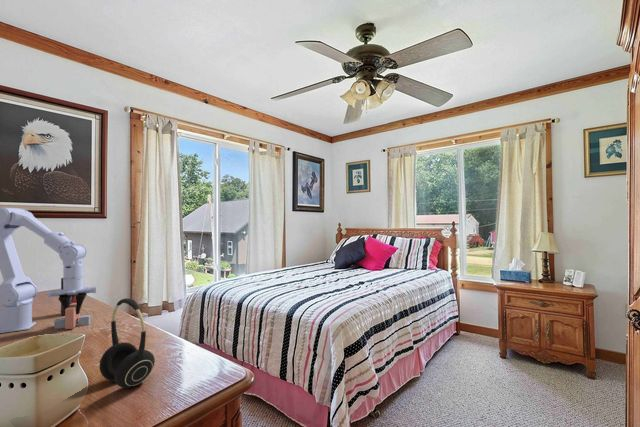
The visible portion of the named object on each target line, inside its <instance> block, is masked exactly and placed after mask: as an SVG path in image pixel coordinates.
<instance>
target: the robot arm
mask: <svg viewBox="0 0 640 427" xmlns="http://www.w3.org/2000/svg"><path fill="white" fill-rule="evenodd" d="M21 227H24V228H25V229H28V230H30V231H31V232H32V233H35V234H36V235H38V236H39V237H40V238H42V239H43V242H44V244H45V246H47V247H49V248H50V249H52V250H53V251H54V252H56V253H57V254H58V256H59V259H60V260H61V261H62V265H63V271H62V272H63V274H62V275H63V277H62V278H63V289H62V290H61V289H55V290H49V291H47V292H46V294H47V295H46V298H52V297H58V301H59V302H60V305H61V304H62V305H63V307H64V310H65V309H66V308H68V307H69V306H70V295H75V294H78V295H77V296H76V303H77V308H76V314H79V313H80V314H81V310H82V309H81V308H82V305H83V303H84V300H85V298H86V296H87V294H97V292H98V286H94V287H93V286H89V287H85V286H84V285H83V284H84V283H83V282H84V258H85V257H86V255H87V248H86V247H85V246H84V245H83V244H81V243H78V244H77V243H76V241H74V240H71V239H69V238H68V237H67V236H65V233H64V232H60V231H52V230H51V229H50V228H49V227H47V226H46V225H45V224H44V223H43V222H41V221H40V220H39V219H38V218H37V217H35V216H34V214H33V213H32V212H31V211H28V210H27V209H26V208H23V207H17V208H16V207H4V206H0V272H1V276H2V279H3V281H2V282H1V283H0V304H1V305H0V334H4V333H12V332H20V331H27V330H28V331H29V330H30V329H31V328H32V327H34V326H35V325H36V324H37V321H33V301H34V298H35V297H36V296H37V295H38V293H39V292H38V287H37V286H36V284H34V283H33V281H32V278H30V277H29V276H27V275H25V273H24V270H23V266H22V264H21V261H20V257H19V254H18V252H17V249H16V245H15V242H14V239H13V236H12V235H13V233H14V232H15V231H16V230H18V229H20V228H21ZM76 292H79V293H76ZM66 293H67V294H66Z"/></svg>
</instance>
